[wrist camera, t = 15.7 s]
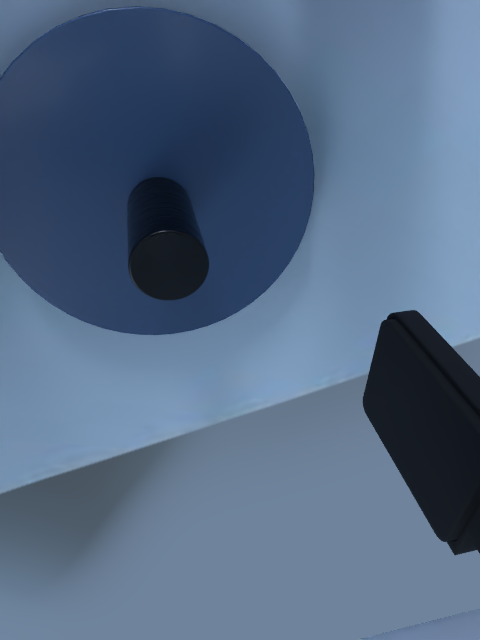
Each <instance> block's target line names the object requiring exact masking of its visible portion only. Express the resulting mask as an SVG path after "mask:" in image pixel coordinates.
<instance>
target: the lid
mask: <svg viewBox="0 0 480 640" xmlns="http://www.w3.org/2000/svg"><path fill="white" fill-rule="evenodd" d="M313 192H314V166H313V154H312V150H311V145H310V141H309V136H308V132H307V129H306V127H305V124H304V121H303V118H302V116H301V113H300V111H299V109H298V107H297V105H296V103H295V101H294V99H293V97H292V96H291V94H290V92H289V90H288V89H287V88H286V86H285V85H284V83H283V82H282V81H281V79H280V78H279V76H278V75H277V74H276V72H275V71H274V70H273V69H272V68H271V67H270V66H269V65H268V64H267V63H266V62H265V61H264V60H263V58H262V57H261V56H260V55H259V54H258V53H256V52H255V51H254V50H252V49H251V48H250V47H249V46H247V45H246V44H245V43H244V42H242V41H241V40H240V39H239V38H237V37H235V36H234V35H232V34H230V33H228V32H227V31H225V30H223V29H222V28H220V27H218V26H216V25H214V24H212V23H209V22H207V21H204V20H202V19H199V18H197V17H194V16H192V15H189V14H185V13H180V12H176V11H172V10H167V9H163V8H150V7H137V6H135V7H123V8H111V9H105V10H101V11H97V12H93V13H90V14H86V15H82V16H79V17H77V18H75V19H73V20H70V21H68V22H66V23H64V24H61V25H59V26H57V27H55V28H53V29H52V30H50V31H49V32H47V33H46V34H44V35H43V36H41V37H40V38H38V39H37V40H35V41H34V42H33V43H31V44H30V45H29V46H28V47H27V48H26V49H25V50H24V51H23V52H22V53H21V54H20V55H19V56H18V57H17V58H16V59H14V60H13V62H12V63H11V64H10V66H9V67H8V68H7V70H6V71H5V72H4V74H3V75H2V76H1V78H0V251H1V253H2V254H3V256H4V258H5V259H6V261H7V262H8V263H9V264H10V266H11V267H12V268H13V269H14V270H15V272H16V273H17V274H18V275H19V277H20V278H21V279H22V280H23V281H24V282H26V283H27V284H28V285H29V286H30V287H31V288H32V289H33V290H34V291H35V292H36V293H38V294H39V295H40V296H41V297H43V298H44V299H45V300H47V301H48V302H49V303H51V304H52V305H54V306H56V307H57V308H59V309H61V310H62V311H64V312H66V313H67V314H69V315H71V316H73V317H76V318H78V319H80V320H82V321H84V322H87V323H90V324H93V325H96V326H98V327H101V328H105V329H109V330H114V331H118V332H123V333H131V334H140V335H162V334H174V333H180V332H185V331H191V330H195V329H198V328H201V327H205V326H208V325H211V324H213V323H216V322H218V321H221V320H223V319H225V318H227V317H229V316H231V315H233V314H234V313H236V312H238V311H240V310H241V309H243V308H244V307H246V306H247V305H249V304H250V303H252V302H253V301H254V300H255V299H257V298H258V297H259V296H260V295H261V294H263V293H264V292H265V291H266V290H267V289H268V288H269V287H270V286H271V285H272V284H273V283H274V282H275V281H276V279H277V278H278V277H279V276H280V275H281V273H282V272H283V271H284V269H285V268H286V267H287V265H288V264H289V262H290V260H291V259H292V257H293V255H294V254H295V252H296V250H297V249H298V246H299V244H300V242H301V239H302V237H303V235H304V232H305V229H306V226H307V223H308V219H309V216H310V212H311V206H312V200H313Z"/></svg>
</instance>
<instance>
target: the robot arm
mask: <svg viewBox="0 0 480 640" xmlns="http://www.w3.org/2000/svg"><path fill="white" fill-rule="evenodd" d="M363 407H364V410H365V413H366V414H367V416H368V418H369V420H370V422H371V423H372V425H373V427H374V428H375V430H376V432H377V434H378V435H379V437H380V439H381V441H382V442H383V444H384V446H385V448H386V449H387V451H388V453H389V454H390V456H391V458H392V460H393V461H394V463H395V465H396V467H397V468H398V470H399V472H400V473H401V475H402V477H403V479H404V480H405V482H406V484H407V486H408V487H409V489H410V491H411V492H412V494H413V496H414V497H415V499H416V501H417V503H418V504H419V506H420V508H421V510H422V511H423V513H424V515H425V517H426V518H427V520H428V522H429V523H430V525H431V527H432V529H433V530H434V532H435V534H436V535H437V537H438V538H439V539H440V540H441V541H443V542H447V543H448V545H449V546H450V548H451V550H452V552H453V553H454V555H458V554H462V553H466V552H470V551H474V550H478V551H479V553H480V377H479V376H478V375H477V374H476V373H475V372H474V371H473V369H472V368H471V367H470V366H469V365H468V364H467V363H466V362H465V361H464V360H463V359H462V358H461V357H460V356H459V355H458V354H457V352H456V351H455V350H454V349H453V348H452V347H451V346H450V345H449V344H448V343H447V342H446V341H445V340H444V339H443V337H442V336H441V335H440V334H439V333H438V332H437V331H436V330H435V329H434V328H433V327H432V326H431V325H430V324H429V323H428V322H427V320H426V319H425V318H424V317H423V316H422V315H421V314H420V313H419V312H417V311H415V310H411V311H403V312H396V313H391V314H390V315H389V316H388V317H387V320H384V321H383V322H382V323H381V326H380V330H379V334H378V338H377V342H376V347H375V351H374V355H373V359H372V363H371V367H370V371H369V375H368V380H367V384H366V388H365V392H364V396H363ZM359 640H480V609H477V610H473V611H469V612H465V613H460V614H457V615H453V616H449V617H445V618H441V619H437V620H433V621H429V622H425V623H421V624H417V625H414V626H410V627H406V628H402V629H398V630H394V631H391V632H386V633H382V634H379V635H375V636H371V637H367V638H363V639H359Z"/></svg>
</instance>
